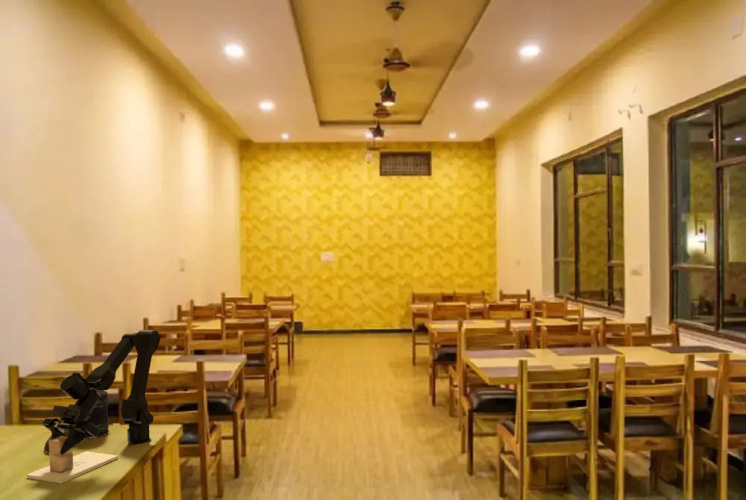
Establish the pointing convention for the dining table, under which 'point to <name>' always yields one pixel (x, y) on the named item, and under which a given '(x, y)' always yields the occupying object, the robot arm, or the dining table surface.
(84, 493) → the dining table surface
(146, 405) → the robot arm
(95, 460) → the board
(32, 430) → the dining table surface
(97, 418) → the storage jar
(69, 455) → the block
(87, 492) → the dining table surface
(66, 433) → the stone
